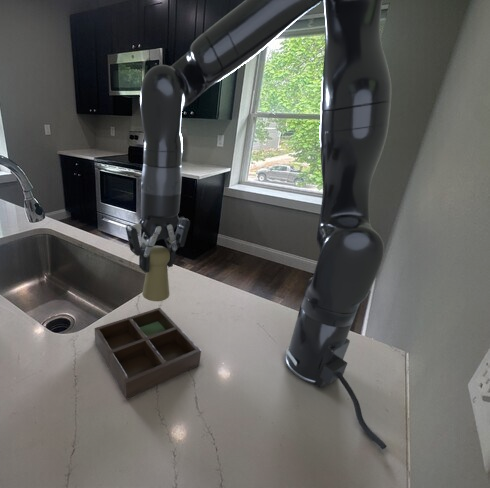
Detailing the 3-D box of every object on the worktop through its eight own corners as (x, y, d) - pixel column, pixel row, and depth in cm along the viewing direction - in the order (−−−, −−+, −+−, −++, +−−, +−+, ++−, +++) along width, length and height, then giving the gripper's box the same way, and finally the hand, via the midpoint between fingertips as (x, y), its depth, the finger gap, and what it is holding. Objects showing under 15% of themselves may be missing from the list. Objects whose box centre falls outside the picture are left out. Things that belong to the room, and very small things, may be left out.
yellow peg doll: (166, 303, 62) (169, 256, 58) (138, 298, 63) (139, 252, 59) (171, 288, 68) (174, 244, 63) (146, 284, 69) (147, 240, 64)
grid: (199, 365, 62) (201, 350, 61) (126, 399, 54) (126, 383, 53) (159, 320, 75) (159, 307, 74) (95, 342, 67) (94, 328, 66)
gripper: (135, 197, 50) (134, 284, 56) (203, 190, 57) (194, 268, 64) (117, 187, 56) (118, 267, 62) (181, 182, 63) (175, 255, 69)
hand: (157, 267), depth 63 cm, fingers closed on yellow peg doll, 5 cm apart
